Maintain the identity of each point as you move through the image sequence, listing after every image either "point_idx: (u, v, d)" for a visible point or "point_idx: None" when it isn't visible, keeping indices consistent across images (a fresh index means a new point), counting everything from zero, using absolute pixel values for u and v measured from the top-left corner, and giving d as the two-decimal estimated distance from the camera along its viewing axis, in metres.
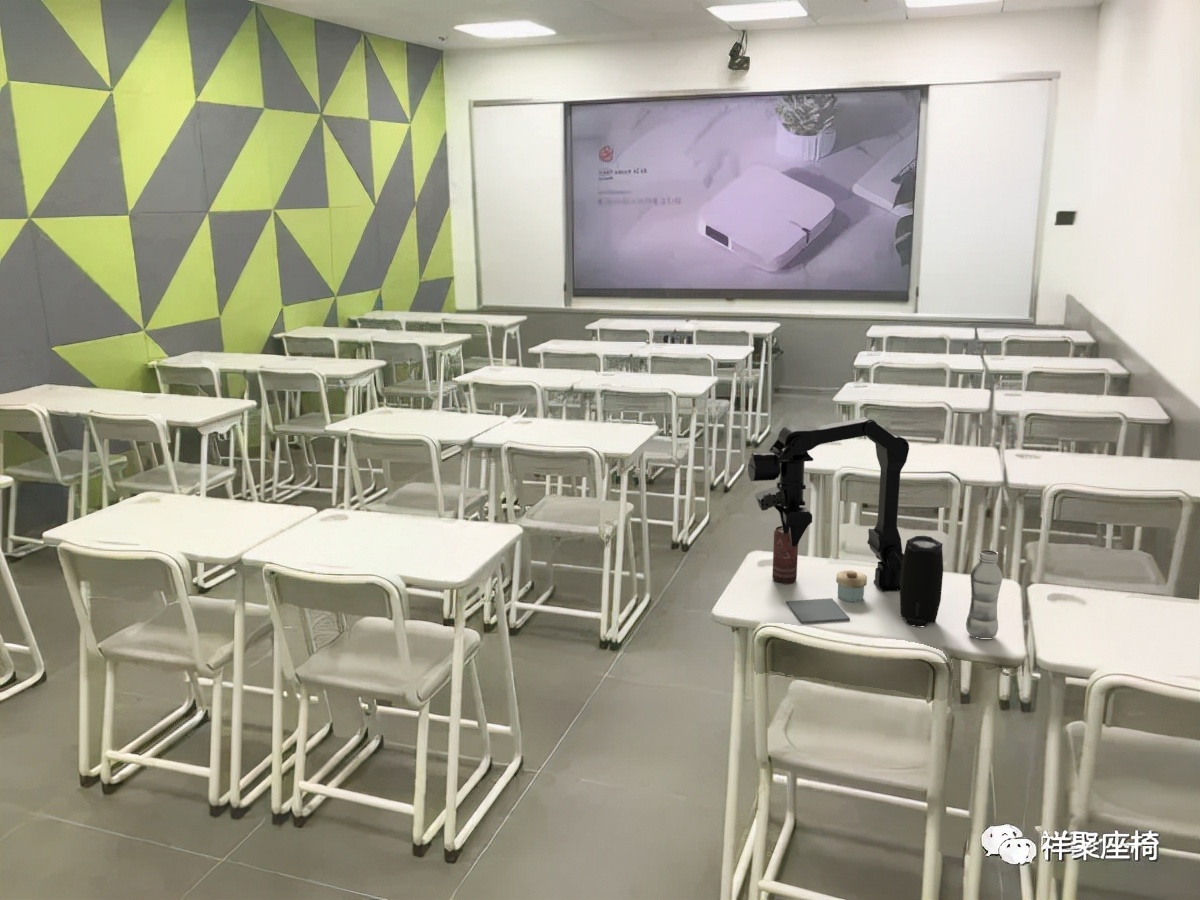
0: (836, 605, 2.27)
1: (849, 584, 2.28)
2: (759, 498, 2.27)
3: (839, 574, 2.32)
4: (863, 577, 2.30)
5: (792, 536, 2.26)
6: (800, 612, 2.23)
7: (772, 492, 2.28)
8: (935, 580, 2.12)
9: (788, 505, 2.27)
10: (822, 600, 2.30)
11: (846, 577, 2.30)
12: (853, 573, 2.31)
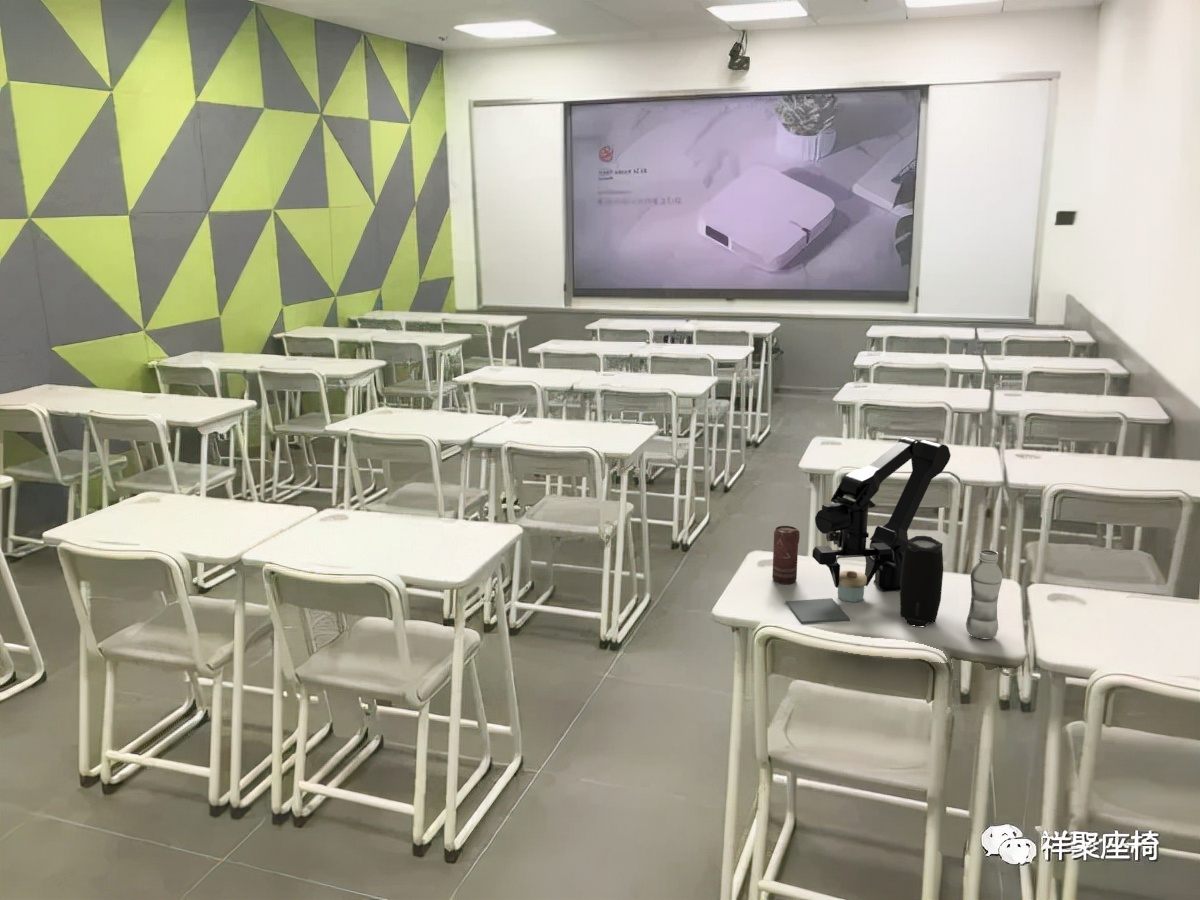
0: (836, 605, 2.27)
1: (850, 584, 2.28)
2: None
3: None
4: (863, 577, 2.30)
5: None
6: (800, 612, 2.23)
7: None
8: (935, 580, 2.12)
9: (841, 548, 2.30)
10: (822, 600, 2.30)
11: (846, 577, 2.30)
12: (853, 573, 2.31)
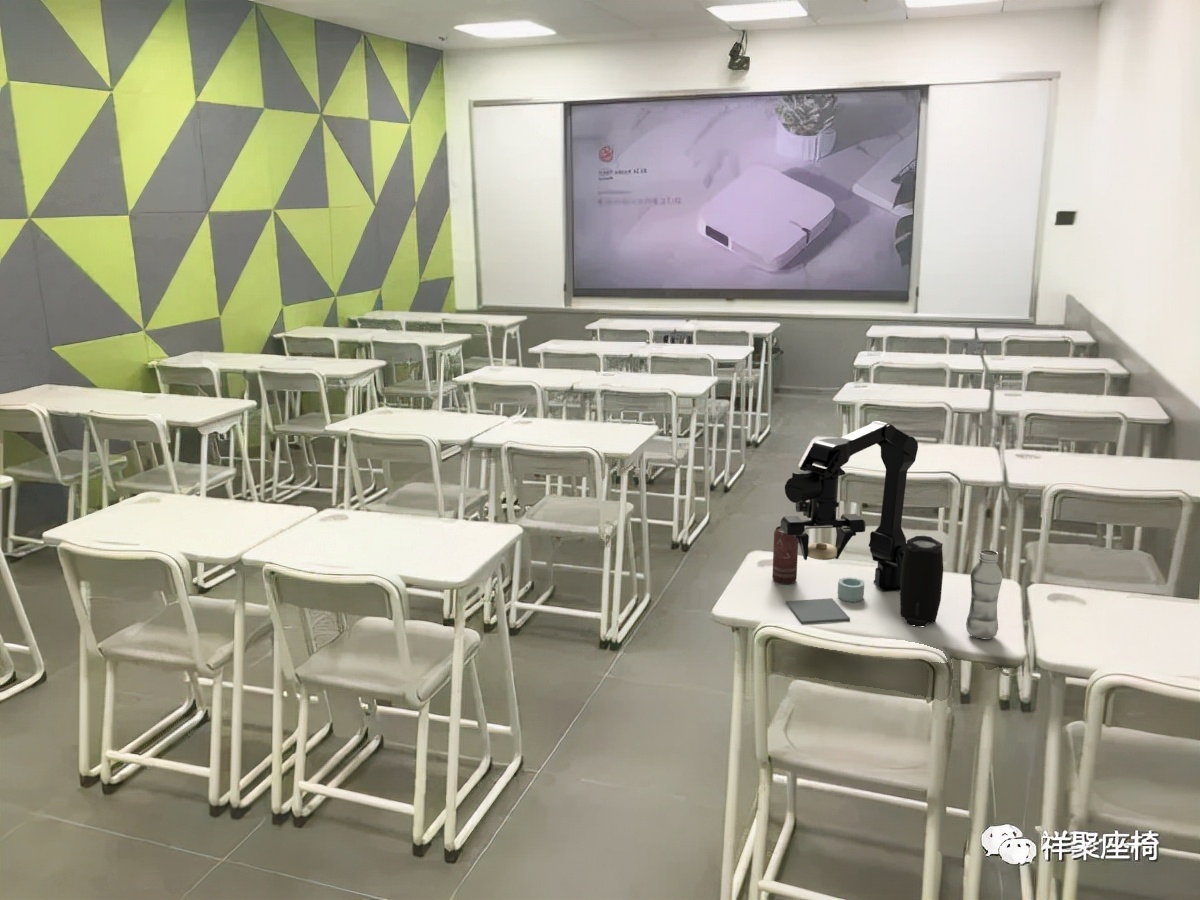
0: (836, 605, 2.27)
1: (819, 555, 2.18)
2: None
3: (808, 546, 2.22)
4: (834, 549, 2.20)
5: (800, 547, 2.21)
6: (800, 612, 2.23)
7: None
8: (935, 580, 2.12)
9: None
10: (822, 600, 2.30)
11: (815, 549, 2.20)
12: (823, 545, 2.20)
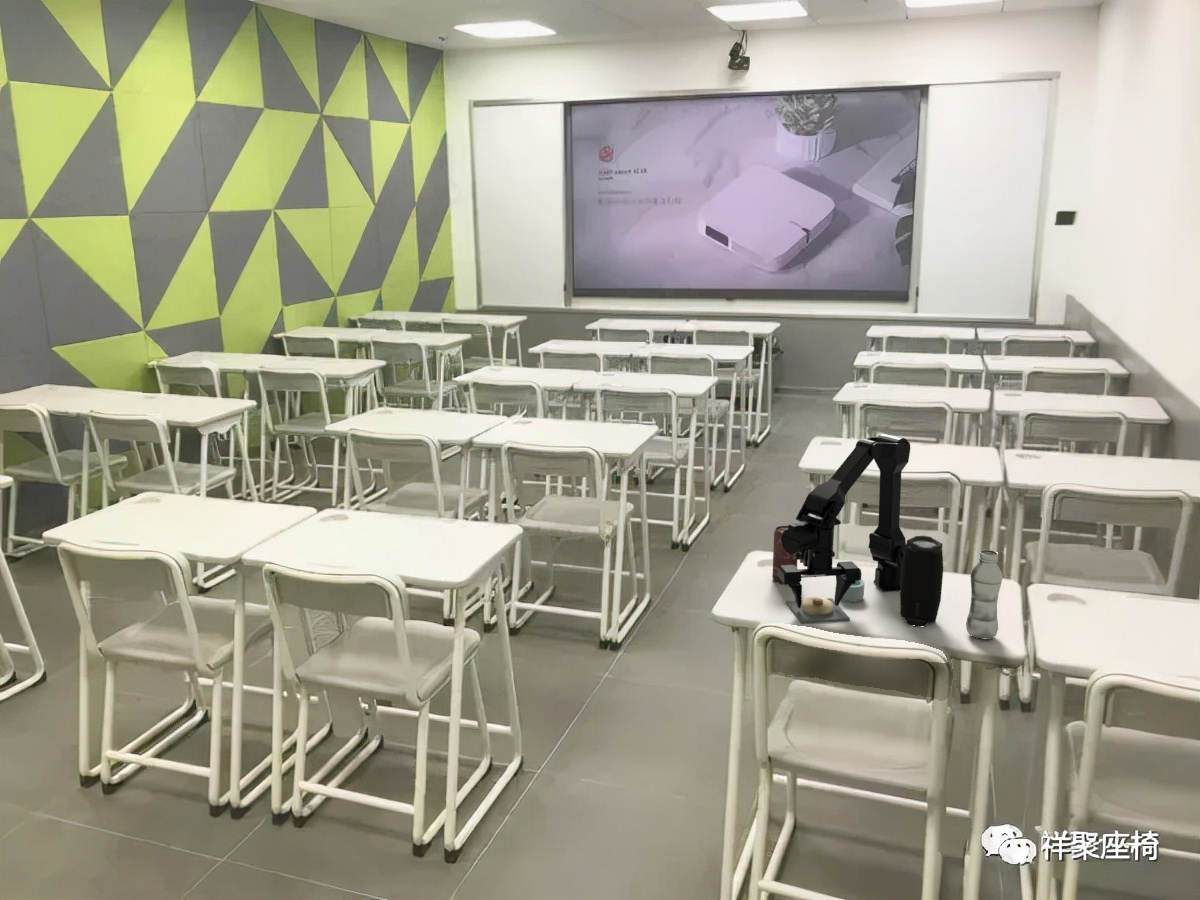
0: None
1: (815, 611, 2.21)
2: None
3: (805, 601, 2.25)
4: (830, 605, 2.23)
5: (794, 595, 2.24)
6: (800, 612, 2.23)
7: None
8: (935, 580, 2.12)
9: None
10: None
11: (812, 604, 2.23)
12: (819, 600, 2.24)
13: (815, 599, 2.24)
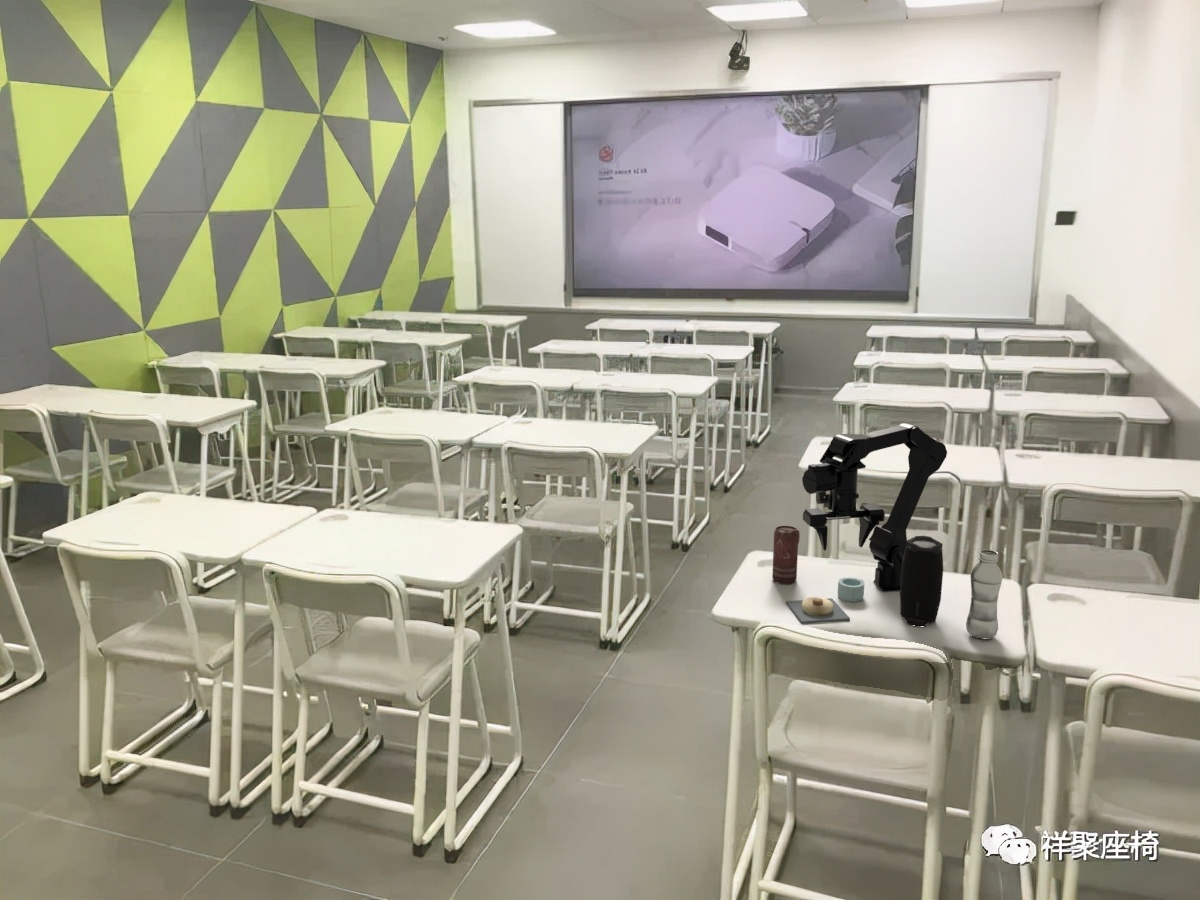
0: (836, 605, 2.27)
1: (815, 611, 2.21)
2: None
3: (805, 601, 2.25)
4: (830, 605, 2.23)
5: (819, 538, 2.29)
6: (800, 612, 2.23)
7: None
8: (935, 580, 2.12)
9: None
10: None
11: (812, 604, 2.23)
12: (819, 600, 2.24)
13: (815, 599, 2.24)
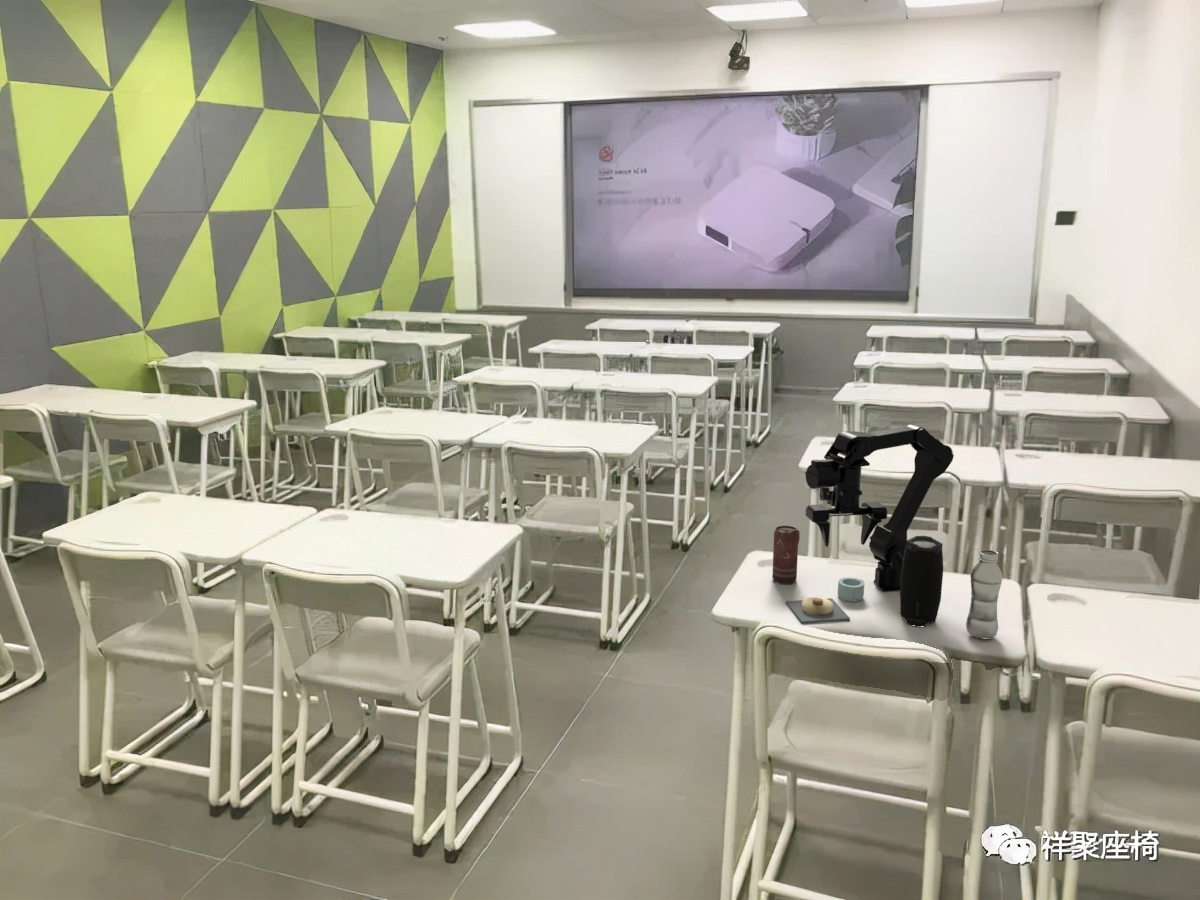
0: (836, 605, 2.27)
1: (815, 611, 2.21)
2: None
3: (805, 601, 2.25)
4: (830, 605, 2.23)
5: None
6: (800, 612, 2.23)
7: None
8: (935, 580, 2.12)
9: (834, 506, 2.29)
10: None
11: (812, 604, 2.23)
12: (819, 600, 2.24)
13: (815, 599, 2.24)
